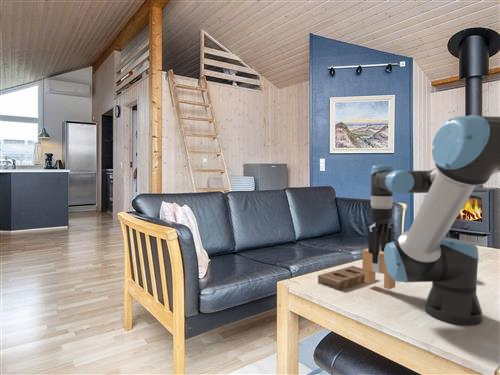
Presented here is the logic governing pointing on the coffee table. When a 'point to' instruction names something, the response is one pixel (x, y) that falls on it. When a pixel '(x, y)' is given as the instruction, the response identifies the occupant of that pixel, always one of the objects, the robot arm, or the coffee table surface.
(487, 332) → the coffee table surface
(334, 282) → the slotted wooden base
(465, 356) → the coffee table surface
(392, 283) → the clip
